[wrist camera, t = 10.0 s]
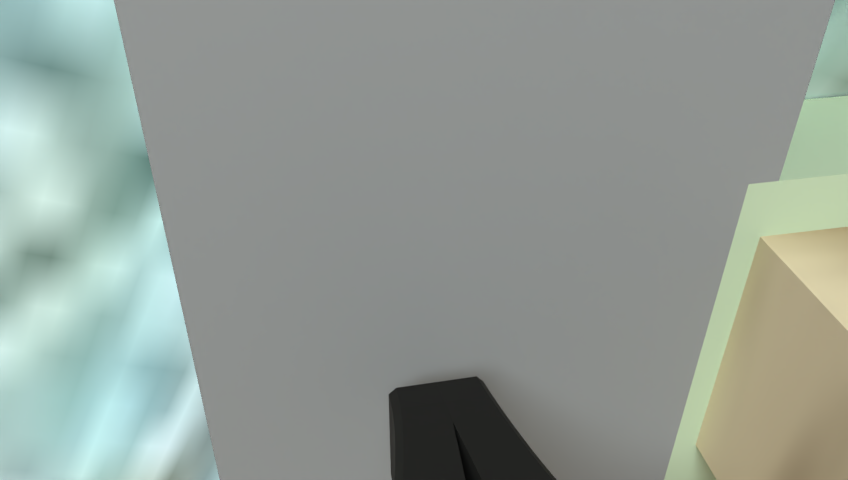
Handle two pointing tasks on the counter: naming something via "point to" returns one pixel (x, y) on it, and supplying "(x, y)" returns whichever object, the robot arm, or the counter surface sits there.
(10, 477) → the counter surface
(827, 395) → the maple block
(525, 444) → the robot arm
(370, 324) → the grey shallow tray piece
